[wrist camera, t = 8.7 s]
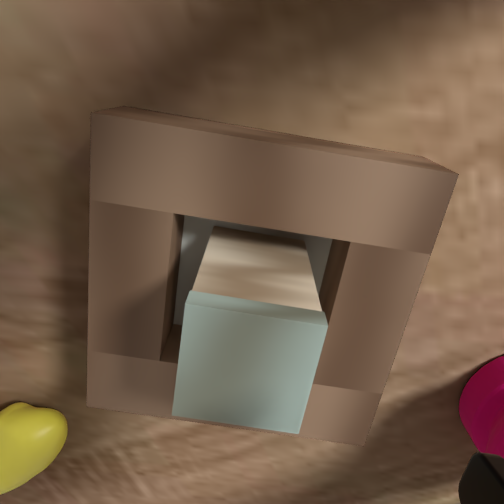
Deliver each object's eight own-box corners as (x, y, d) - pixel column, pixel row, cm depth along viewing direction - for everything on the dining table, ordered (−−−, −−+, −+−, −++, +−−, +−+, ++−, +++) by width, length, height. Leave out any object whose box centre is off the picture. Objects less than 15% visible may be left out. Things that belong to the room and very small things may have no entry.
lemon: (-57, 421, 24) (-113, 481, 20) (58, 372, 23) (18, 427, 19) (-9, 470, 25) (-54, 535, 22) (102, 427, 24) (73, 489, 20)
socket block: (423, 156, 18) (458, 174, 14) (349, 393, 22) (363, 446, 19) (123, 106, 17) (90, 112, 14) (112, 358, 22) (86, 406, 19)
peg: (305, 239, 19) (328, 326, 12) (287, 319, 20) (298, 434, 14) (212, 224, 18) (185, 303, 12) (201, 306, 20) (171, 415, 13)
